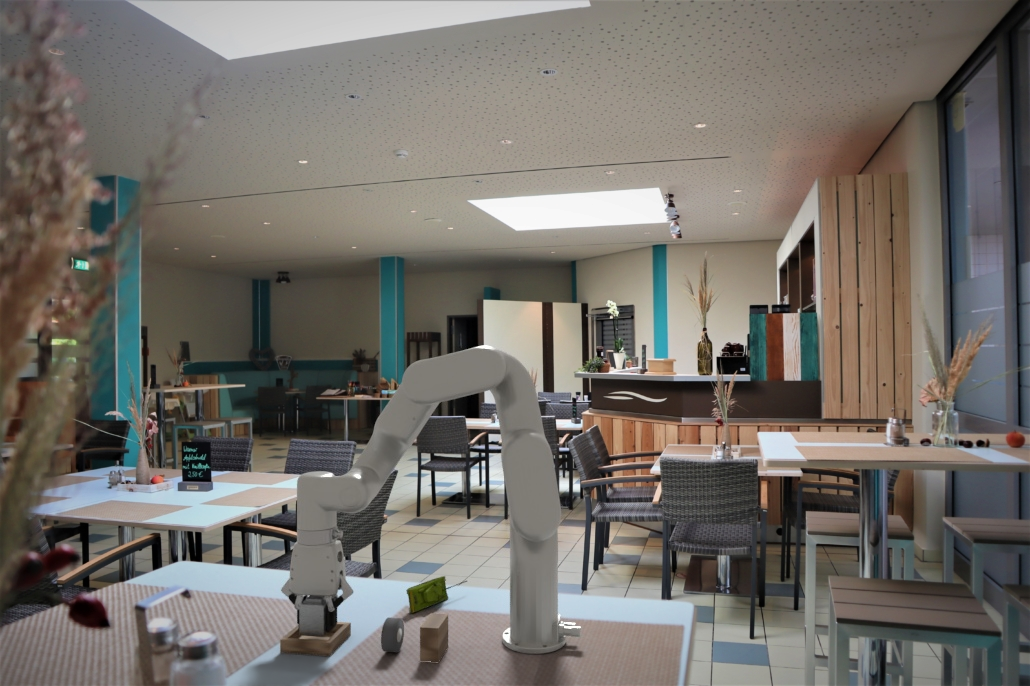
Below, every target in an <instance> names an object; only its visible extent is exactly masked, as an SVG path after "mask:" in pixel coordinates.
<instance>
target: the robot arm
mask: <svg viewBox="0 0 1030 686" xmlns="http://www.w3.org/2000/svg"><path fill="white" fill-rule="evenodd" d="M488 391H490V392H491V394H492V396H493V398H494V403H495V409H496V414H497V419H498V426H499V432H500V438H501V447H500V448H501V449H500V459H501V466H502V471H503V478H504V479H503V480H504V485H505V490H506V492H505V493H506V498H507V503H508V510H509V627H507V628H506V629H505V630H504V631H503V632H502V635H501V638H502V639H501V641H502V644H503V645H504V646H505V647H506V648H508V649H509V650H512V651H514V652H517V653H522V654H527V655H530V654H531V655H538V654H539V655H540V654H548V653H552V652H555V651H558V650H560V649H561V648H563V646H565V644H566V641H567V637H571V638H572V637H573V638H581V626H576V622H565V621H564V620H562V614H560V613H559V598H558V597H559V596H558V595H559V591H558V589H559V588H558V587H559V575H558V574H559V572H558V570H559V569H558V568H559V566H558V565H559V541H558V540H559V533H558V529H559V527H560V524H561V521H562V509H561V501H560V500H561V499H560V494H559V487H558V481H557V480H558V479H557V475H556V468H555V462H554V456H553V452H552V448H551V446H550V444H549V442H548V440H547V438H546V435H545V430H544V426H543V419H542V413H541V409H540V405H539V404H540V403H539V399H538V394H537V390H536V387H535V384H534V380H533V379H532V376H531V374H530V372H529V371H528V370H527V368H526V367H525V365H524V364H523V363H522V362H521V361H520V360H518V358H516V357H515V356H513V355H512V354H511V353H508V352H506V351H505V350H502V349H500V348H496V347H495V346H491V345H479V346H473V347H471V348H468V349H467V348H466V349H464V350H460V351H459V350H458V351H455V352H451V353H447V354H443V355H439V356H435V357H430V358H425V359H420V360H417V361H414V362H413V363H412V362H411V364H410V365H409V366H408V367H407V368H406V369H405V370H404V373H403V374H402V379H401V382H400V384H399V385H398V387H397V389H396V391H395V392H394V394H393V395H392V397H391V398H390V400H388V402H387V404H386V405H385V407H384V408H383V410H382V411H381V412H380V414H379V416H378V417H377V419H376V421H375V422H374V423H375V424H374V427H373V432H372V435H371V437H370V439H369V441H368V442H367V444H366V445H365V448H364V449H363V451H362V452H361V454H360V455H359V457H358V458H357V459H356V461H355V462H354V464H353V465H352V467H351V468H350V470H349V471H348V472H346V473H345V474H342V475H337V476H336V475H335V474H334V473H332V472H331V471H322V470H321V471H320V470H317V471H308V472H304V473H302V474H301V475H299V477H298V478H297V481H296V482H297V483H296V542H294V544H293V547H292V548H293V549H292V552H291V559H290V566H289V567H290V568H289V578H288V579H287V581H286V582H285V584H284V585H283V586H282V587H281V588H280V591H281V593H282V594H283V595H284V596H285V597H287V598H288V600H289V601H290V602H291V603H292V604H293V607H294V609H295V610H296V624H297V625H299V604H300V603H302V602H303V601H304V600H306V598H307V597H309V596H325V599H326V603H327V607H328V611H327V612H326V632H330V631H331V630H332V629H333V628H334V627H335V626H336V625H337V622H338V607H339V606H341V604H342V603H343V602H345V601H346V600H347V599H348V598H350V597H351V596H352V595H353V594H354V589H353V588H352V586H351V585H350V584H349V582H348V581H347V576H346V575H347V574H346V562H345V556H344V550H343V549H344V548H343V544H342V542H341V540H338V539H339V538H341V539H342V538H343V536H344V531H343V530H340V529H338V528H339V527H338V525H337V523H338V521H337V520H338V519H337V515H338V512H340V513H345V514H346V513H347V514H357V513H359V512H362V511H364V510H365V509H367V507H368V506H369V505H370V504H371V503H372V501H373V500H374V499H375V498H376V497H377V495H378V494H379V493H380V491H381V489H383V486H384V485H385V483H386V482H387V480H388V478H389V477H390V476H391V474H392V473H393V471H394V469H395V468H396V467H397V466H398V463H400V461H401V460H402V457H403V456H404V454H406V452H408V451H409V449H410V448H411V447H412V445H413V444H414V442H415V441H416V439H417V438H418V436H419V435H420V433H421V431H422V430H423V428H424V427H425V425H426V424H427V422H428V421H429V419H430V418H431V417H432V414H433V413H434V412H435V410H436V408H437V407H438V406H439V404H440V403H441V402H442V403H443V402H447V401H451V400H456V399H460V398H463V397H464V398H465V397H467V396H471V395H475V394H480V393H484V392H488ZM339 590H341V591H342V594H340V595H339V596H338V592H339Z"/></svg>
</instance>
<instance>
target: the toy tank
mask: <svg viewBox="0 0 1030 686" xmlns="http://www.w3.org/2000/svg"><path fill="white" fill-rule="evenodd" d="M446 581H447V579H446V575H444V576H443V575H442V576H440V577H436V578H433V579H430V580H427V581H425V582H422V583H419V584H416V585H414V586H411V587H408V588H407V589H406V594H407V597H408V603H409V608H408V613H410V614H414V613H416V612H419V611H421V610H423V609H427V608H429V607H431V606H434V605H436V604H439V603H441V602H444V601H447V600H448V599H449V595H448V593H447V590H450V589H451V588H453V587H455V586H459V585H462V584H465V583H467V582H468V580H463V581H462V582H458V583H457V584H455V585H452V586H448V587H447V585H446V584H447V583H446Z"/></svg>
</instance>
